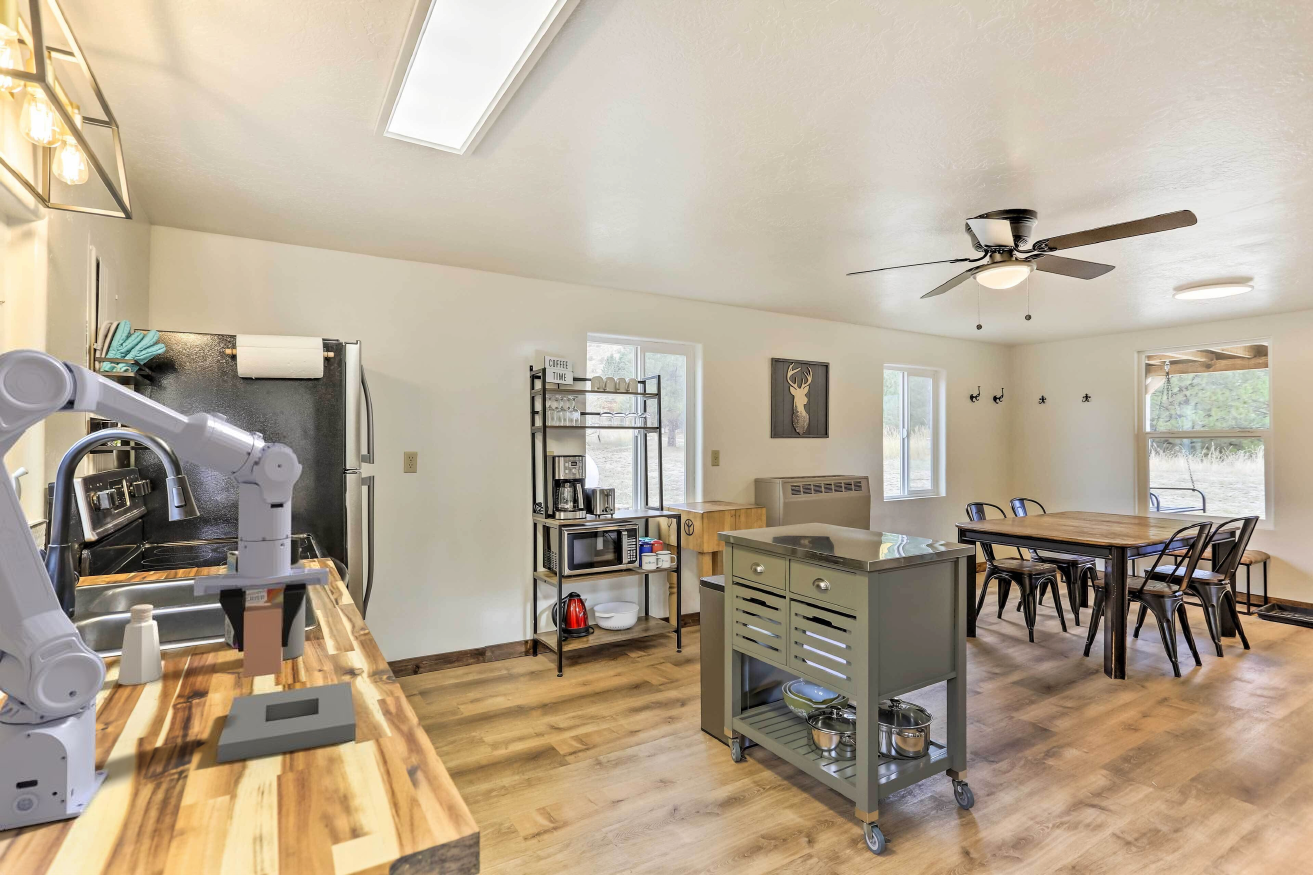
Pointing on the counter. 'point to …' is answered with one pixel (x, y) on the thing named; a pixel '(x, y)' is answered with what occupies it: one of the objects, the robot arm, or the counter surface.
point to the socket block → (287, 721)
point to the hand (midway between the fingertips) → (263, 647)
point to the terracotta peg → (263, 639)
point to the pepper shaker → (140, 648)
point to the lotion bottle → (298, 626)
